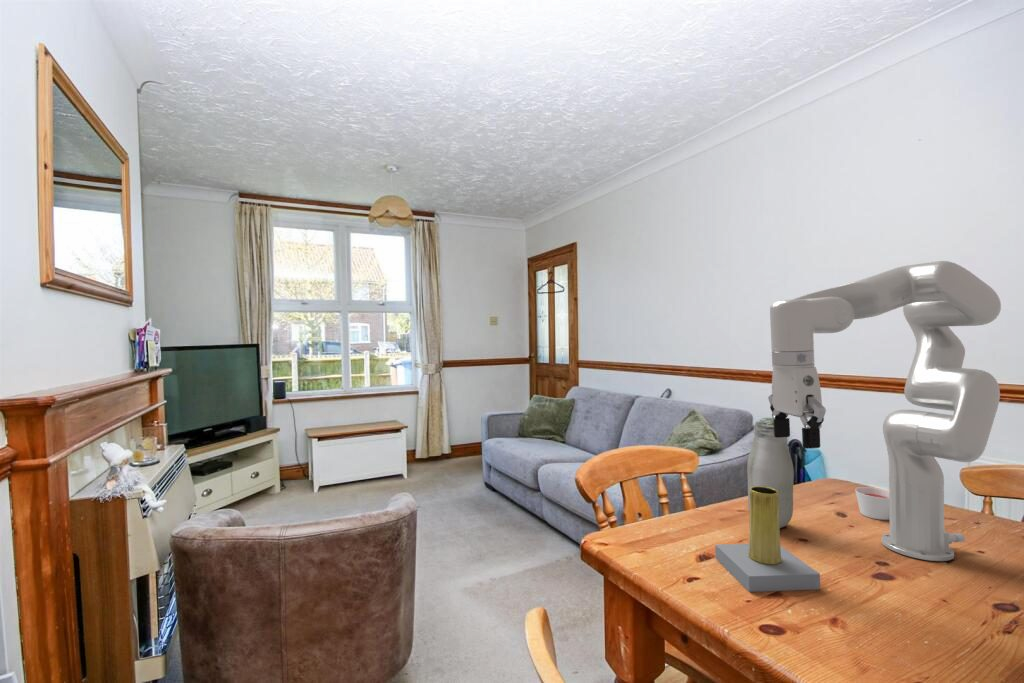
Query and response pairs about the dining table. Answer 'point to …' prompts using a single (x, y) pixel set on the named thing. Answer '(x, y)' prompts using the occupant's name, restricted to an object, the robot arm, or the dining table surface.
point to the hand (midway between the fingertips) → (796, 442)
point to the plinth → (767, 570)
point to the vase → (764, 526)
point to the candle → (873, 502)
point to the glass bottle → (771, 467)
